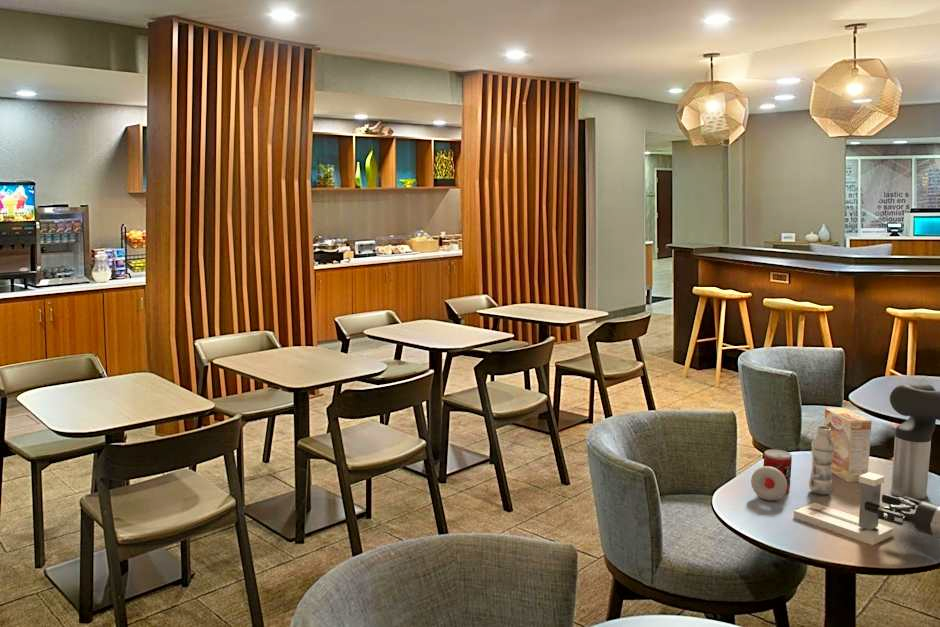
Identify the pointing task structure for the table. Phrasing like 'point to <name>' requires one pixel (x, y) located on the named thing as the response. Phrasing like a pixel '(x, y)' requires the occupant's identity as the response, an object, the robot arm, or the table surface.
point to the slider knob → (869, 498)
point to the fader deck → (842, 523)
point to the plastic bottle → (822, 461)
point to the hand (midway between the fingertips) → (873, 501)
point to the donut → (772, 474)
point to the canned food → (778, 465)
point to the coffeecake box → (849, 442)
